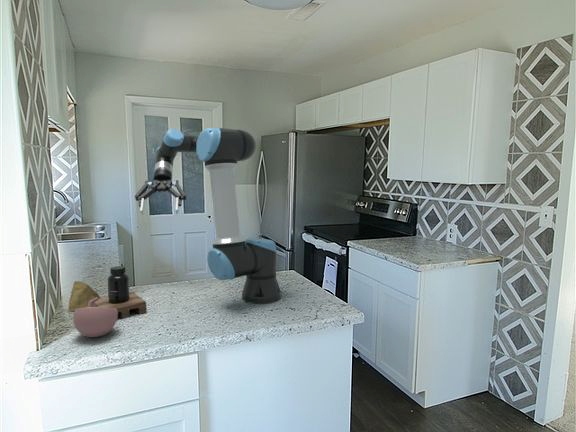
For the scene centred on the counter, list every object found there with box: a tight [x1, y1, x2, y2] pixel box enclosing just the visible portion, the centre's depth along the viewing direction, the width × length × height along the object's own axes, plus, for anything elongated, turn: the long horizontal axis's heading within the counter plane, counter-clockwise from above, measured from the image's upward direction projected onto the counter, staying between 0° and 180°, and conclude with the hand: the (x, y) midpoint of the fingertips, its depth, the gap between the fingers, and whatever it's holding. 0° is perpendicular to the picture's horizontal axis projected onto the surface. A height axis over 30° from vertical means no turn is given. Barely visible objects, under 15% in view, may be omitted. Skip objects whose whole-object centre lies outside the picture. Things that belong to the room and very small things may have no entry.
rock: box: [67, 280, 101, 313], centre depth 139 cm, size 11×9×10 cm
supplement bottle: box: [107, 265, 130, 304], centre depth 134 cm, size 7×7×12 cm
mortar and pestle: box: [72, 297, 119, 338], centre depth 115 cm, size 12×12×12 cm
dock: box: [93, 291, 148, 319], centre depth 134 cm, size 14×14×4 cm
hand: (159, 212), depth 153 cm, fingers open, 13 cm apart
